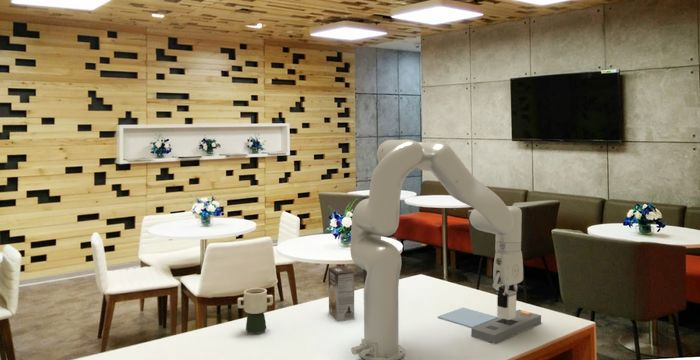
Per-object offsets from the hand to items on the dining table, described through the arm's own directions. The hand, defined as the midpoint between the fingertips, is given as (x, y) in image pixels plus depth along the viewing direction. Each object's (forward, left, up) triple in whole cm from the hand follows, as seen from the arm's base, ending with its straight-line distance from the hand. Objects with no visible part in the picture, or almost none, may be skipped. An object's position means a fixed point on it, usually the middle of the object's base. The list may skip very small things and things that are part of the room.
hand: (506, 304), depth 171 cm
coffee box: (-29, +45, -8) cm, 54 cm away
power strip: (0, 0, -8) cm, 8 cm away
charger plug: (0, 0, -4) cm, 4 cm away
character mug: (-58, +52, -8) cm, 78 cm away
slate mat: (0, +15, -8) cm, 17 cm away
